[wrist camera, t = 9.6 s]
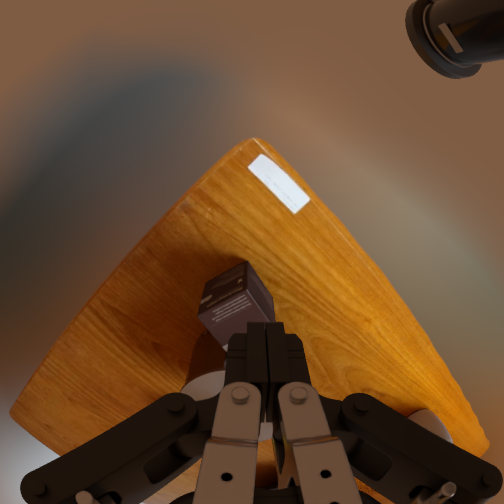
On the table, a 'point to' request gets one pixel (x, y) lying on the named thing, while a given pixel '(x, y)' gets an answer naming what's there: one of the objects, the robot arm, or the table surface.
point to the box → (235, 303)
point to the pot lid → (211, 386)
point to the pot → (206, 355)
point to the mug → (431, 423)
